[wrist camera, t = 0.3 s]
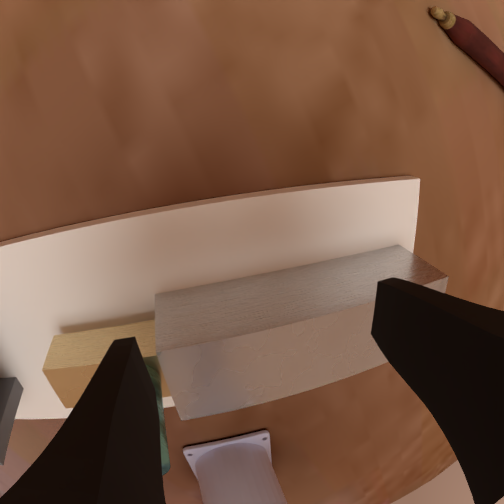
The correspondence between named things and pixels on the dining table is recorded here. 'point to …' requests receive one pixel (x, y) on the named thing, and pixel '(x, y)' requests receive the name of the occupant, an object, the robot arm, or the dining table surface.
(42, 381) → the base board
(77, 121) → the dining table surface
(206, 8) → the dining table surface
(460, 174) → the dining table surface
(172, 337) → the steel sleeve
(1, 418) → the charcoal socket
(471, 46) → the olive brown lump
